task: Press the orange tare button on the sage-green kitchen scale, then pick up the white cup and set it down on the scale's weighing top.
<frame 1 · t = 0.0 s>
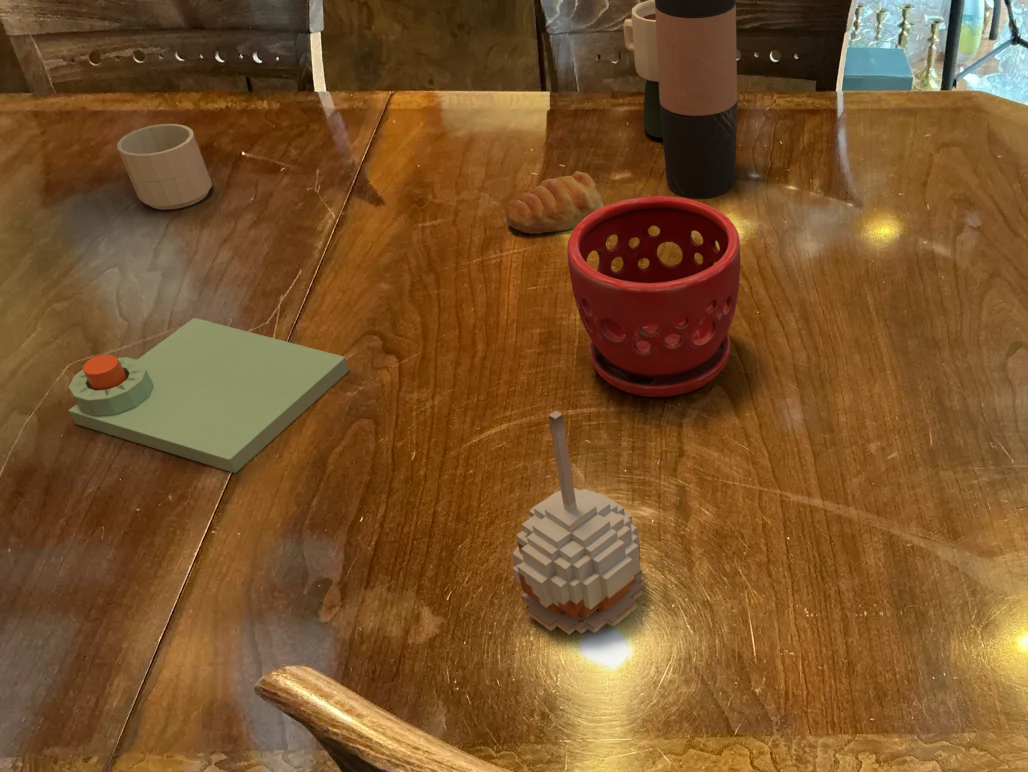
character mug: (671, 133, 121), on the table
flower pot: (662, 368, 89), on the table
white cup: (177, 195, 112), on the table
scale: (216, 396, 87), on the table
pastry: (561, 220, 107), on the table
travel mug: (701, 184, 112), on the table
candy apple: (584, 596, 71), on the table
tare button: (105, 373, 84), point 3 cm above the table, slide at 0.1 cm
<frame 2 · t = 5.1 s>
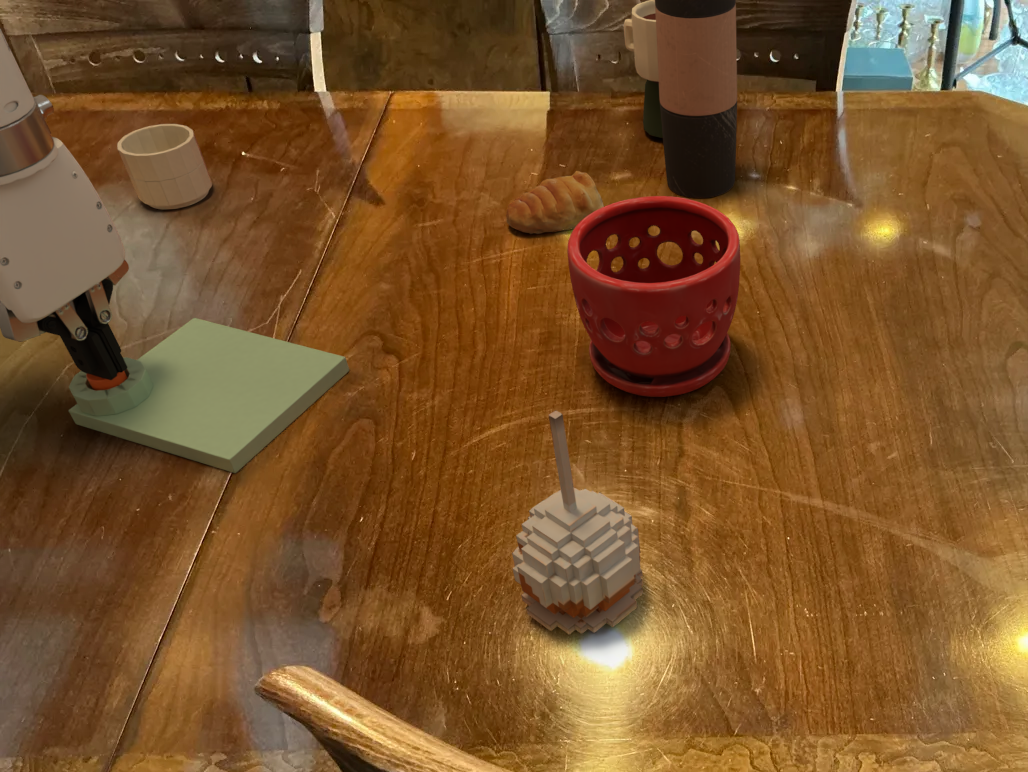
hand: (105, 370, 84), 4 cm above the table, tool pointing down, fingers closed
tare button: (108, 379, 84), point 3 cm above the table, slide at -0.6 cm, touching gripper
everything else where it was.
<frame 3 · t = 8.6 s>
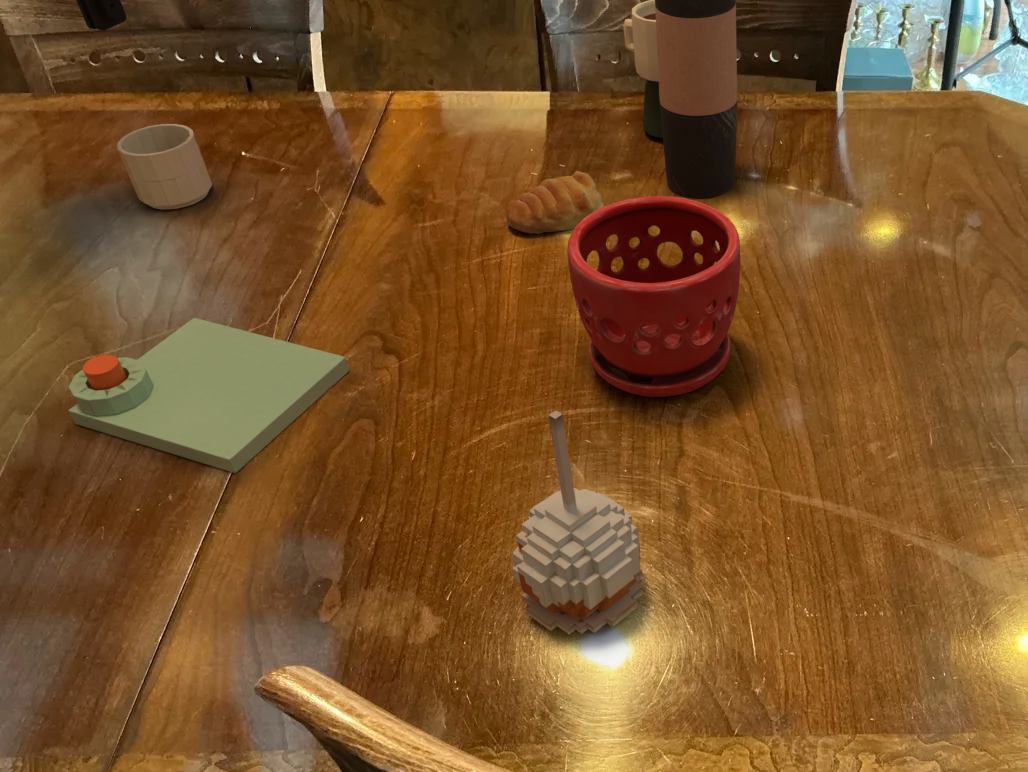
hand: (108, 24, 99), 17 cm above the table, tool pointing down, fingers closed
tare button: (105, 373, 84), point 3 cm above the table, slide at 0.1 cm
everything else where it was.
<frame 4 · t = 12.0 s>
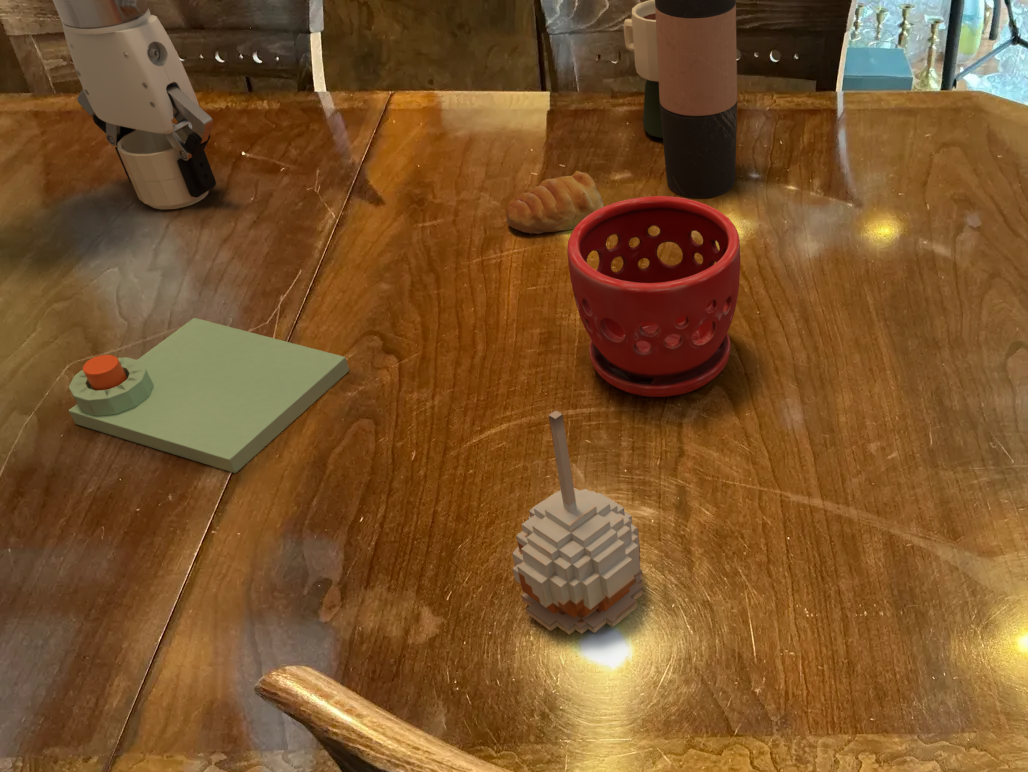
hand: (173, 183, 111), 1 cm above the table, tool pointing down, fingers closed on white cup, 7 cm apart
white cup: (177, 195, 112), on the table, touching gripper
everything else where it was.
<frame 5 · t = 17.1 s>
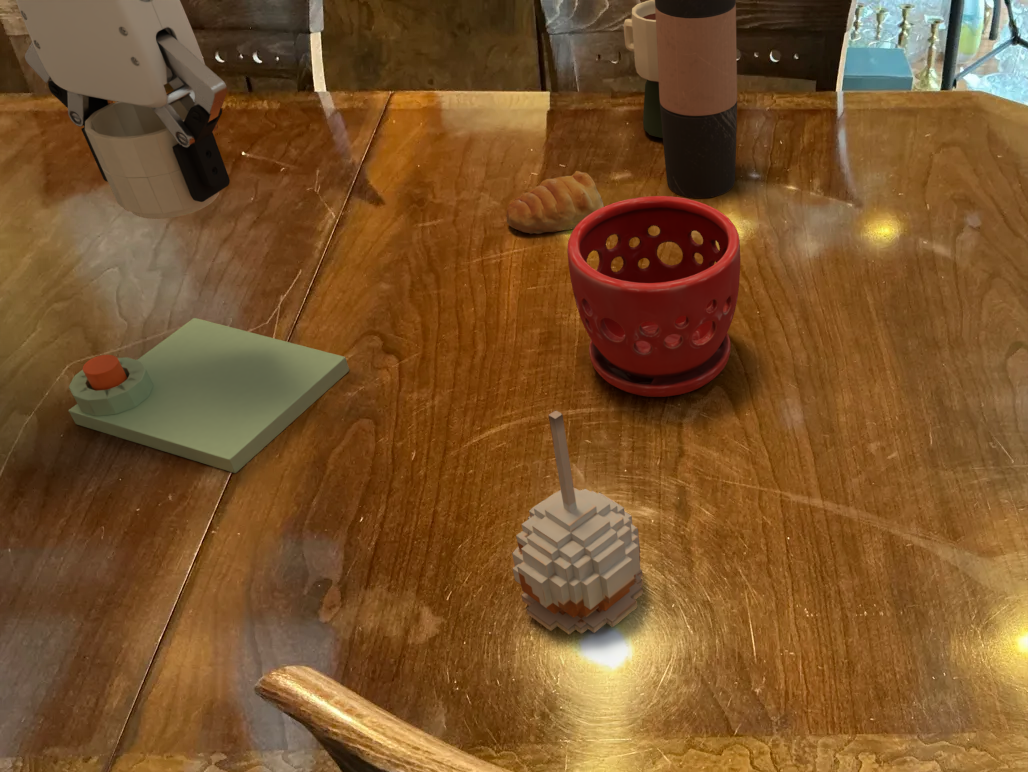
hand: (167, 181, 76), 17 cm above the table, tool pointing down, fingers closed on white cup, 7 cm apart
white cup: (174, 197, 77), point 16 cm above the table, touching gripper
everything else where it was.
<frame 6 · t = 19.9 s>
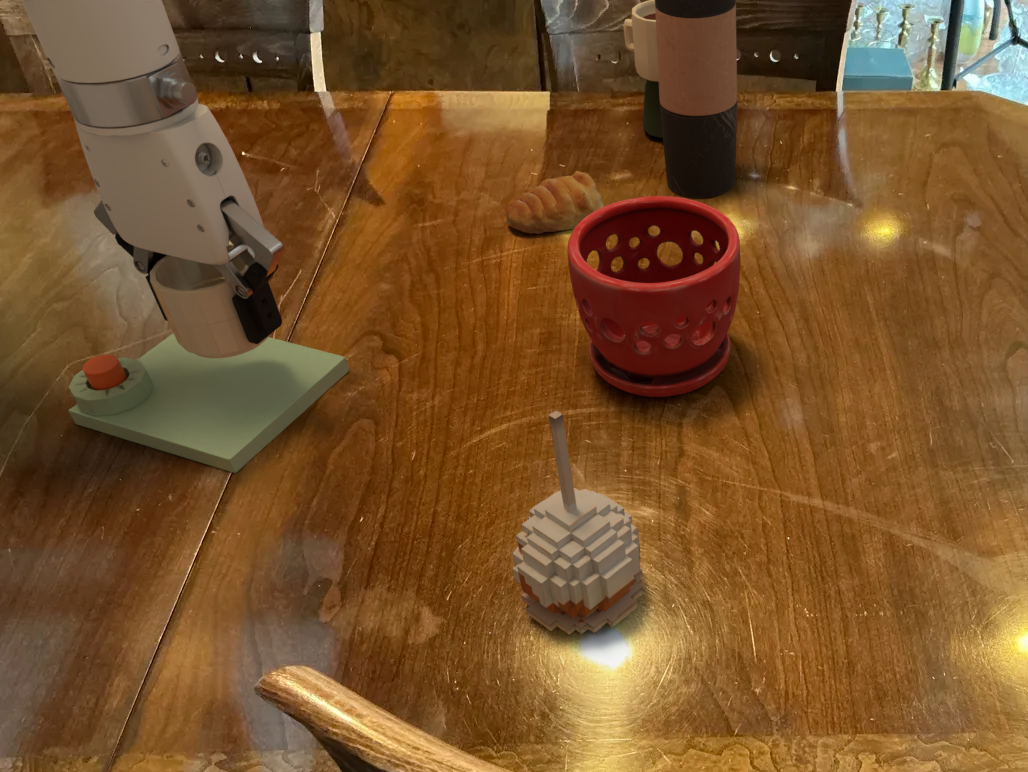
hand: (224, 321, 82), 7 cm above the table, tool pointing down, fingers closed on white cup, 7 cm apart
white cup: (230, 335, 83), point 6 cm above the table, touching gripper
everything else where it was.
when the fingers open (3 cm above the table, at t = 22.0 s): white cup stays where it is, resting on scale.
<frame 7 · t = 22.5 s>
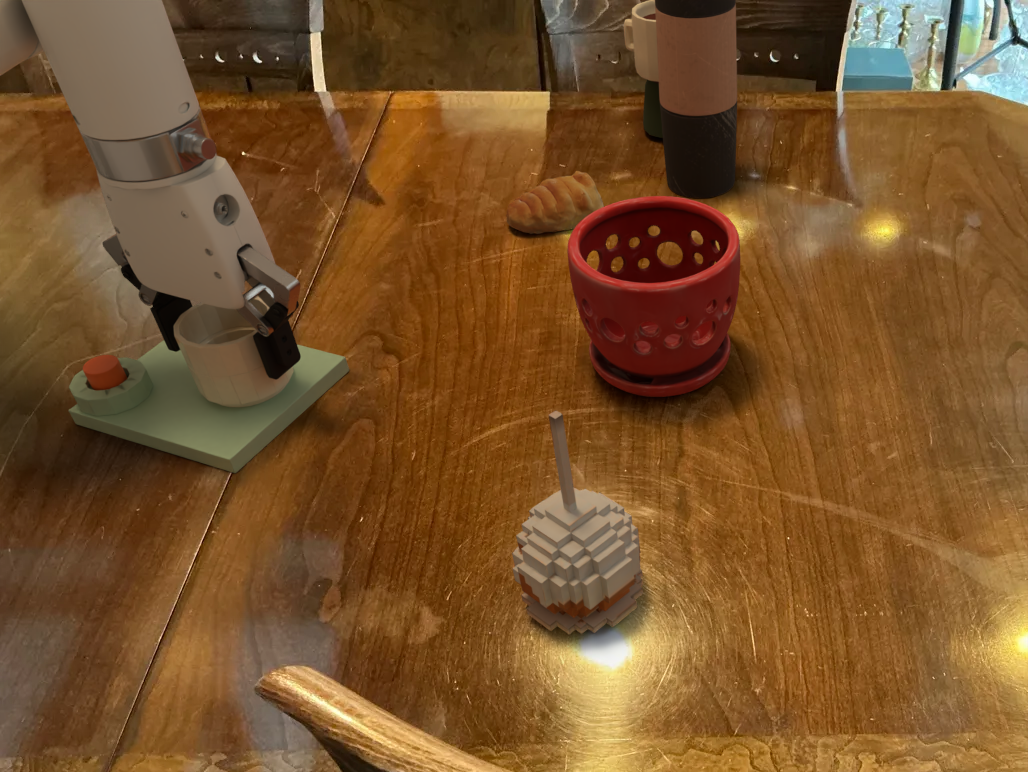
hand: (235, 355, 84), 4 cm above the table, tool pointing down, fingers open, 9 cm apart
white cup: (249, 383, 86), point 1 cm above the table, touching scale
everything else where it was.
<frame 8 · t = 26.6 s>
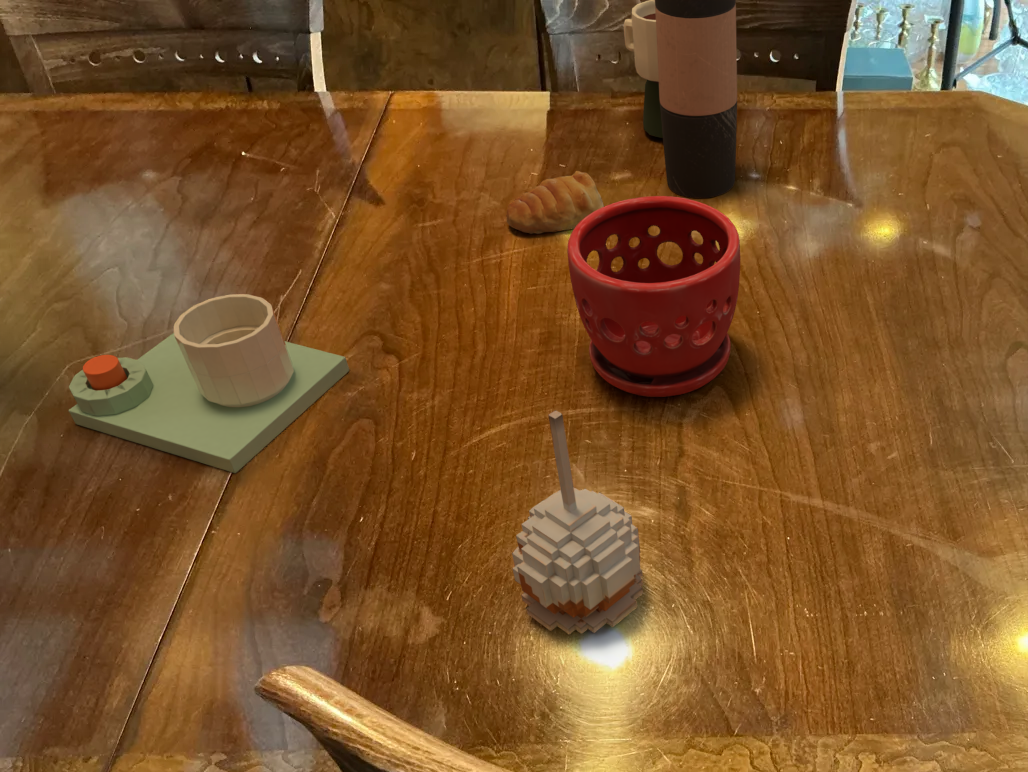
nothing on the table moved.
at the end: tare button pushed in 0.9 cm at the most during the clip, back to where it started at the end; white cup inside the target area on the scale (1.0 cm from its centre), point 1.4 cm above the scale's base; white cup touching scale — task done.
